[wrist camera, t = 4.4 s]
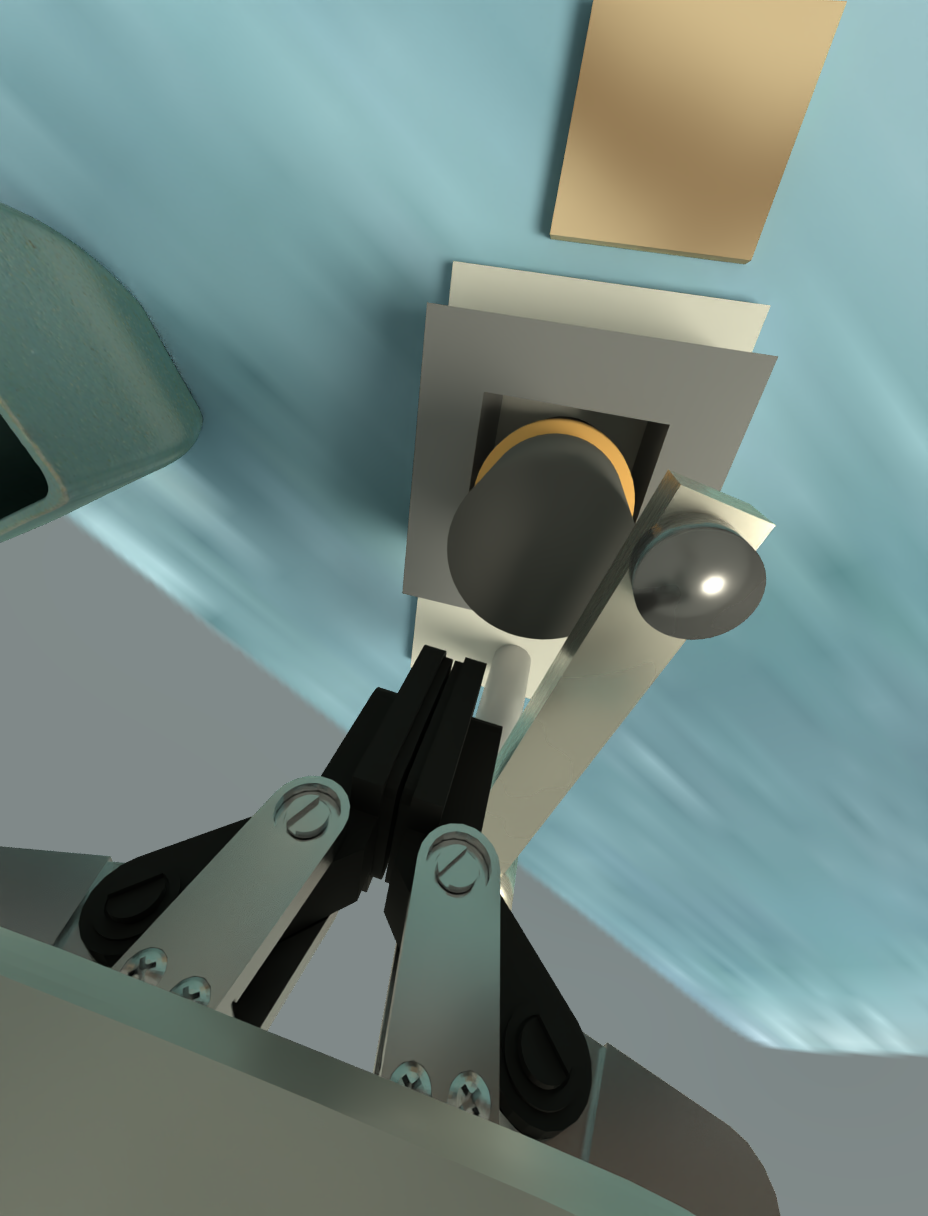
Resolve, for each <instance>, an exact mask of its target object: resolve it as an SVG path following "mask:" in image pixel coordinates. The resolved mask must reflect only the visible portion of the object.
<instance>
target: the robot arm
mask: <svg viewBox="0 0 928 1216" xmlns="http://www.w3.org/2000/svg"><path fill="white" fill-rule="evenodd" d="M446 654H447V651H445V650H442V649H439V648H435V647H432V646H429V645H424V646H423V648H422V650H421V652H420V654H419V655H418V657H417V659H416V661H415V663H414V664H413V666H412V668H411V670H410V672H409V674H408V675H407V677H406V679H405V681H404V683H403V685H402V686H401V688H400V690H399V692H398V693H395V692H392V691H389V690H386V689H383V688H380V687H378V688H376V689H375V691H374V692H373V693H372V695H371V696H370V698H369V700H368V701H367V703H366V705H365V706H364V708H363V709H362V711H361V713H360V714H359V716H358V717H357V719H356V721H355V722H354V724H353V725H352V727H351V729H350V730H349V732H348V733H347V735H346V737H345V738H344V740H343V741H342V743H341V745H340V746H339V748H338V749H337V751H336V753H335V754H334V756H333V757H332V759H331V761H330V763H329V764H328V766H327V767H326V769H325V770H324V772H323V774H322V775H321V776H307V777H302V778H297V779H295V780H293V781H291V782H288V783H286V784H285V785H283V786H282V787H281V788H280V789H278V790H277V791H276V792H275V793H274V794H273V795H272V796H271V797H270V798H269V799H268V801H266V803H265V804H264V805H263V806H262V807H261V808H260V809H259V810H258V811H257V812H256V813H255V814H254V815H253V816H252V817H249V818H246V819H244V820H241V821H238V822H235V823H232V824H229V825H227V826H224V827H221V828H218V829H216V830H213V831H210V832H207V833H204V834H201V835H199V836H196V837H193V838H190V839H187V840H185V841H182V842H179V843H176V844H174V845H171V846H168V847H165V848H162V849H159V850H157V851H154V852H151V853H148V854H145V855H143V856H140V857H137V858H135V859H133V860H131V861H129V862H127V863H119V862H113V861H112V859H111V857H110V856H101V855H89V854H77V853H68V852H67V853H66V852H56V851H45V850H33V849H22V848H12V847H0V1216H780V1212H779V1207H778V1202H777V1197H776V1194H775V1191H774V1189H773V1187H772V1184H771V1182H770V1180H769V1178H768V1175H767V1173H766V1170H765V1168H764V1166H763V1165H762V1163H761V1162H760V1160H759V1159H758V1157H757V1156H756V1155H755V1153H754V1151H753V1150H752V1148H751V1147H750V1145H749V1144H748V1143H747V1142H746V1141H745V1140H744V1139H743V1138H742V1137H741V1136H740V1135H739V1134H738V1133H737V1132H736V1131H735V1130H733V1129H732V1128H731V1127H730V1126H729V1125H727V1124H726V1123H725V1122H723V1121H722V1120H720V1119H719V1118H717V1117H716V1116H714V1115H713V1114H711V1113H710V1112H708V1111H707V1110H706V1109H704V1108H703V1107H701V1106H700V1105H698V1104H697V1103H695V1102H694V1101H692V1100H691V1099H689V1098H688V1097H686V1096H685V1095H683V1094H682V1093H681V1092H679V1091H678V1090H676V1089H675V1088H673V1087H672V1086H670V1085H669V1084H667V1083H666V1082H665V1081H663V1080H662V1079H660V1078H659V1077H657V1076H656V1075H654V1074H653V1073H651V1072H650V1071H648V1070H647V1069H646V1068H644V1067H643V1066H641V1065H640V1064H638V1063H637V1062H635V1061H634V1060H632V1059H631V1058H629V1057H628V1056H626V1055H625V1054H623V1053H622V1052H621V1051H619V1050H617V1049H616V1048H615V1047H613V1046H612V1045H610V1044H609V1043H606V1044H605V1045H604V1046H602V1045H601V1044H599V1043H598V1042H597V1041H595V1040H594V1039H592V1038H591V1037H589V1036H588V1035H586V1034H585V1033H584V1032H582V1030H581V1028H580V1026H579V1023H578V1021H577V1020H576V1018H575V1016H574V1015H573V1013H572V1012H571V1010H570V1008H569V1007H568V1005H567V1003H566V1001H565V1000H564V998H563V996H562V995H561V993H560V991H559V990H558V988H557V987H556V985H555V983H554V982H553V980H552V978H551V977H550V975H549V973H548V972H547V970H546V968H545V967H544V965H543V963H542V962H541V960H540V958H539V957H538V955H537V953H536V952H535V950H534V948H533V947H532V945H531V944H530V942H529V940H528V939H527V937H526V935H525V934H524V932H523V930H522V929H521V927H520V925H519V924H518V922H517V920H516V919H515V917H514V915H513V914H512V912H511V910H510V909H509V907H508V905H507V904H506V902H505V900H504V899H503V897H502V895H501V894H500V875H501V871H500V864H499V857H498V855H497V853H496V851H495V848H494V846H493V845H492V843H491V842H490V841H489V840H488V839H487V837H486V836H485V835H484V834H482V828H483V823H484V818H485V813H486V808H487V803H488V799H489V794H490V789H491V784H492V779H493V774H494V769H495V764H496V760H497V755H498V750H499V745H500V740H501V735H502V730H503V726H500V725H497V724H493V723H490V722H487V721H484V720H480V719H477V718H474V717H472V716H473V712H474V709H475V705H476V702H477V698H478V695H479V691H480V687H481V684H482V680H483V677H484V673H485V670H486V666H487V663H484V662H481V661H477V660H474V659H471V658H467V657H466V658H465V660H464V662H460V661H456V660H455V662H454V665H453V667H452V664H453V659H451V658H448V657H446ZM451 668H452V670H451ZM387 865H388V867H387ZM386 868H387V873H386V879H385V882H387V883H389V889H388V893H387V899H386V903H385V908H384V913H385V916H386V918H387V920H388V923H389V925H390V928H391V930H392V933H393V935H394V938H395V940H396V946H395V952H394V958H393V964H392V969H391V974H390V980H389V985H388V991H387V997H386V1002H385V1008H384V1014H383V1020H382V1025H381V1031H380V1036H379V1042H378V1047H377V1053H376V1059H375V1064H374V1070H373V1073H370V1072H368V1071H365V1070H363V1069H360V1068H358V1067H355V1066H353V1065H350V1064H348V1063H345V1062H343V1061H340V1060H338V1059H335V1058H333V1057H331V1056H328V1055H325V1054H323V1053H321V1052H318V1051H316V1050H313V1049H311V1048H308V1047H306V1046H303V1045H301V1044H298V1043H296V1042H293V1041H291V1040H288V1039H286V1038H283V1037H281V1036H278V1035H276V1034H273V1033H270V1032H268V1029H269V1027H270V1026H271V1024H272V1022H273V1021H274V1019H275V1017H276V1016H277V1014H278V1012H279V1011H280V1009H281V1007H282V1006H283V1004H284V1003H285V1001H286V999H287V998H288V996H289V994H290V993H291V991H292V989H293V988H294V986H295V984H296V983H297V981H298V979H299V978H300V976H301V974H302V973H303V971H304V969H305V968H306V966H307V964H308V963H309V961H310V959H311V958H312V956H313V955H314V953H315V951H316V950H317V948H318V946H319V944H320V943H321V941H322V939H323V938H324V936H325V935H326V933H327V931H328V930H329V928H330V926H331V925H332V923H333V921H334V920H335V917H336V915H337V913H338V911H339V910H340V909H342V908H344V907H346V906H348V905H350V904H352V903H354V902H356V901H357V900H358V898H359V895H360V893H361V890H362V891H364V892H367V890H368V887H369V885H370V883H371V880H372V878H373V877H376V878H379V879H382V877H383V875H384V873H385V870H386Z"/></svg>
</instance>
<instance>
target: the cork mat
mask: <svg viewBox="0 0 928 1216" xmlns="http://www.w3.org/2000/svg"><path fill="white" fill-rule="evenodd" d="M846 2H847V1H833V0H593V5H592V11H591V16H590V21H589V27H588V32H587V38H586V43H585V48H584V54H583V59H582V64H581V70H580V75H579V80H578V86H577V91H576V97H575V102H574V107H573V113H572V118H571V123H570V129H569V134H568V139H567V145H566V150H565V155H564V161H563V166H562V172H561V177H560V182H559V188H558V193H557V198H556V204H555V209H554V214H553V220H552V225H551V231H550V237H551V239H555V240H562V241H570V242H578V243H585V244H593V245H601V246H608V247H616V248H624V249H632V250H639V251H647V252H655V253H662V254H670V255H678V256H685V257H693V258H701V259H708V260H716V261H724V262H731V263H739V264H746V263H748V262H749V261H751V259H752V257H753V254H754V251H755V248H756V246H757V243H758V240H759V238H760V235H761V232H762V230H763V227H764V224H765V221H766V219H767V216H768V213H769V211H770V208H771V205H772V202H773V200H774V197H775V194H776V192H777V189H778V186H779V184H780V181H781V178H782V175H783V173H784V170H785V167H786V165H787V162H788V159H789V157H790V154H791V151H792V148H793V146H794V143H795V140H796V138H797V135H798V132H799V129H800V127H801V124H802V121H803V119H804V116H805V113H806V111H807V108H808V105H809V102H810V100H811V97H812V94H813V92H814V89H815V86H816V84H817V81H818V78H819V75H820V73H821V70H822V67H823V65H824V62H825V59H826V56H827V54H828V51H829V48H830V46H831V43H832V40H833V38H834V35H835V32H836V29H837V27H838V24H839V21H840V19H841V16H842V13H843V10H844V8H845V5H846Z"/></svg>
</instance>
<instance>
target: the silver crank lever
mask: <svg viewBox="0 0 928 1216" xmlns="http://www.w3.org/2000/svg"><path fill="white" fill-rule="evenodd" d="M774 526H775V524H773V523H772V522H771V521H770V520H769V519H767V518H766V517H765V516H764V515H762V514H761V513H760V512H759V511H758V510H756V509H755V508H754V507H753V506H752V505H750V504H748V503H746V502H744V501H741V500H739V499H737V498H734V497H732V496H730V495H727V494H725V493H723V492H720V491H718V490H715V489H713V488H711V487H708V486H706V485H704V484H701V483H699V482H697V481H694V480H692V479H690V478H687V477H685V476H683V475H680V474H678V473H676V472H673V471H671V470H669V469H668V470H667V472H666V474H665V475H664V477H663V479H662V480H661V482H660V484H659V485H658V487H657V489H656V490H655V492H654V494H653V495H652V497H651V499H650V500H649V502H648V504H647V505H646V507H645V509H644V510H643V512H642V514H641V515H640V517H639V519H638V520H637V522H636V524H635V526H634V527H633V529H632V531H631V532H630V534H629V536H628V537H627V539H626V541H625V542H624V544H623V546H622V547H621V549H620V551H619V552H618V554H617V556H616V557H615V559H614V561H613V562H612V564H611V566H610V567H609V569H608V571H607V572H606V574H605V576H604V577H603V579H602V581H601V582H600V584H599V586H598V587H597V589H596V591H595V592H594V594H593V596H592V597H591V599H590V601H589V603H588V604H587V606H586V608H585V609H584V611H583V613H582V614H581V616H580V618H579V619H578V621H577V623H576V624H575V626H574V628H573V629H572V631H571V633H570V634H569V636H568V638H567V639H566V641H565V643H564V644H563V646H562V648H561V649H560V651H559V653H558V654H557V656H556V658H555V659H554V661H553V663H552V664H551V666H550V668H549V669H548V671H547V673H546V674H545V676H544V678H543V679H542V681H541V683H540V685H539V686H538V688H537V690H536V691H535V693H534V695H533V696H532V698H531V700H530V701H529V703H528V705H527V706H526V708H525V710H524V711H523V713H522V715H521V716H520V718H519V720H518V721H517V723H516V725H515V726H514V728H513V730H512V731H511V733H510V735H509V736H508V738H507V740H506V741H505V743H504V745H503V746H502V748H501V750H500V751H499V753H498V755H497V760H496V764H495V769H494V774H493V779H492V784H491V789H490V794H489V799H488V803H487V808H486V813H485V818H484V823H483V828H482V834H484V835H485V836H486V837H487V839H488V840H489V841H490V842H491V843H492V845H493V846H494V848H495V851H496V853H497V855H498V857H499V864H500V871H501V875H500V894H501V895H502V897H503V899H504V900H505V902H506V904H507V905H508V907H509V909H510V910H511V908H512V901H513V893H514V885H515V878H516V870H517V863H518V855H519V854H520V853H521V851H522V850H523V849H524V848H525V846H526V845H527V844H528V842H529V841H530V840H531V839H532V837H533V836H534V835H535V833H536V832H537V831H538V830H539V828H540V827H541V826H542V824H543V823H544V822H545V821H546V819H547V818H548V817H549V816H550V814H551V813H552V812H553V810H554V809H555V808H556V807H557V805H558V804H559V803H560V801H561V800H562V799H563V798H564V796H565V795H566V794H567V792H568V791H569V790H570V789H571V787H572V786H573V785H574V783H575V782H576V781H577V780H578V778H579V777H580V776H581V774H582V773H583V772H584V771H585V769H586V768H587V767H588V765H589V764H590V763H591V762H592V760H593V759H594V758H595V756H596V755H597V754H598V753H599V751H600V750H601V749H602V747H603V746H604V745H605V744H606V742H607V741H608V740H609V738H610V737H611V736H612V735H613V733H614V732H615V731H616V729H617V728H618V727H619V726H620V724H621V723H622V722H623V720H624V719H625V718H626V717H627V715H628V714H629V713H630V711H631V710H632V709H633V708H634V706H635V705H636V704H637V702H638V701H639V700H640V699H641V697H642V696H643V695H644V693H645V692H646V691H647V690H648V688H649V687H650V686H651V684H652V683H653V682H654V681H655V679H656V678H657V677H658V675H659V674H660V673H661V672H662V670H663V669H664V668H665V666H666V665H667V664H668V663H669V661H670V660H671V659H672V657H673V656H674V655H675V654H676V652H677V651H678V650H679V648H680V647H681V646H682V645H683V643H684V642H685V641H686V639H690V640H696V639H705V638H711V637H714V636H718V635H721V634H723V633H726V632H728V631H730V630H732V629H734V628H735V627H737V626H738V625H740V624H741V623H742V622H744V621H745V620H746V619H747V618H748V617H749V616H750V615H751V614H752V613H753V612H754V610H755V609H756V608H757V606H758V605H759V603H760V601H761V599H762V596H763V594H764V590H765V586H766V573H765V568H764V564H763V562H762V560H761V558H760V556H759V555H758V553H757V552H756V550H757V548H758V547H759V546H760V544H761V543H762V542H763V541H764V539H765V538H766V537H767V535H768V534H769V533H770V532H771V530H772V529H773V528H774Z"/></svg>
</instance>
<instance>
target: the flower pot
mask: <svg viewBox="0 0 928 1216" xmlns="http://www.w3.org/2000/svg"><path fill="white" fill-rule="evenodd" d="M202 422H203V418H202V415H201V412H200V410H199V408H198V406H197V404H196V402H195V401H194V399H193V397H192V396H191V394H190V392H189V390H188V389H187V387H186V385H185V383H184V381H183V380H182V378H181V376H180V374H179V373H178V371H177V369H176V367H175V366H174V364H173V362H172V360H171V358H170V357H169V355H168V353H167V351H166V349H165V348H164V346H163V344H162V342H161V340H160V339H159V337H158V335H157V333H156V331H155V329H154V328H153V326H152V324H151V322H150V320H149V318H148V317H147V315H146V313H145V311H144V310H143V308H142V306H141V305H140V304H139V302H138V301H137V300H136V299H135V298H134V297H133V296H132V295H131V294H130V293H129V292H128V291H127V289H126V288H125V287H124V286H123V285H122V284H121V283H120V282H119V281H118V280H117V279H116V278H115V277H114V276H113V275H112V274H111V273H110V272H109V271H107V270H106V269H105V268H104V267H103V266H102V265H101V264H100V263H99V262H97V261H96V260H95V259H94V258H93V257H92V256H90V255H89V254H88V253H86V252H85V251H84V250H83V249H81V248H80V247H79V246H77V245H76V244H75V243H73V242H72V241H70V240H69V239H67V238H66V237H64V236H63V235H61V234H60V233H59V232H57V231H55V230H54V229H52V228H50V227H49V226H47V225H45V224H44V223H42V222H40V221H38V220H36V219H34V218H32V217H31V216H28V215H26V214H24V213H22V212H20V211H18V210H16V209H13V208H11V207H9V206H7V205H5V204H3V203H0V543H1V542H4V541H6V540H9V539H11V538H13V537H16V536H18V535H20V534H23V533H25V532H28V531H30V530H32V529H35V528H37V527H39V526H42V525H44V524H47V523H49V522H51V521H53V520H55V519H58V518H60V517H62V516H64V515H66V514H68V513H70V512H72V511H74V510H76V509H78V508H80V507H82V506H84V505H86V504H88V503H90V502H92V501H94V500H96V499H98V498H100V497H102V496H104V495H106V494H108V493H110V492H112V491H115V490H117V489H119V488H121V487H123V486H125V485H127V484H129V483H131V482H133V481H135V480H137V479H139V478H141V477H144V476H146V475H148V474H150V473H152V472H154V471H157V470H159V469H161V468H163V467H165V466H167V465H169V464H171V463H172V462H174V461H176V460H177V459H179V458H180V457H181V456H183V455H184V454H185V453H186V452H187V451H188V450H189V449H190V448H191V447H192V446H193V445H194V443H195V442H196V440H197V438H198V436H199V434H200V430H201V427H202Z"/></svg>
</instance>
